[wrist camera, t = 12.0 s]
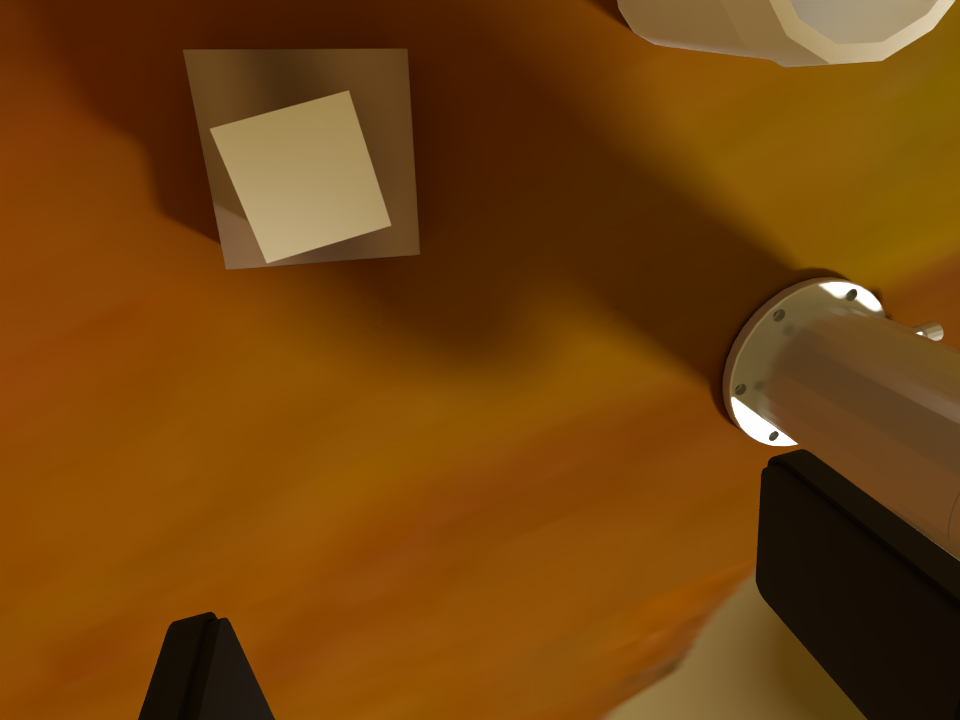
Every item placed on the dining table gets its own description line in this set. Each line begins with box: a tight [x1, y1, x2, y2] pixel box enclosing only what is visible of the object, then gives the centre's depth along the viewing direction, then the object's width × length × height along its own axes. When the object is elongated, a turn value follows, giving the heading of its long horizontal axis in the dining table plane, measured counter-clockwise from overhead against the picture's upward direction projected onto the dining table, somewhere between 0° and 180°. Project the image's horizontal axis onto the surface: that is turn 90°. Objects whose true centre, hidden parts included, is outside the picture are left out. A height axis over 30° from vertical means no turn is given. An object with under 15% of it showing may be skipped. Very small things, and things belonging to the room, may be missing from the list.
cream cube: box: [210, 90, 391, 263], centre depth 24 cm, size 5×5×5 cm
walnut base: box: [183, 49, 420, 270], centre depth 28 cm, size 9×9×4 cm
